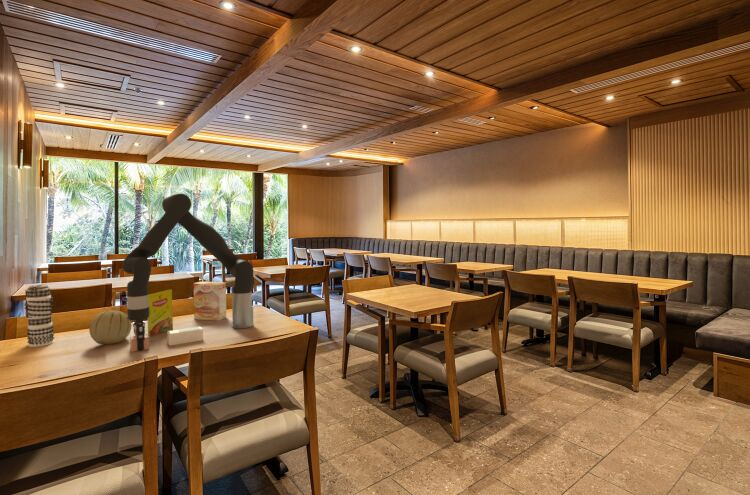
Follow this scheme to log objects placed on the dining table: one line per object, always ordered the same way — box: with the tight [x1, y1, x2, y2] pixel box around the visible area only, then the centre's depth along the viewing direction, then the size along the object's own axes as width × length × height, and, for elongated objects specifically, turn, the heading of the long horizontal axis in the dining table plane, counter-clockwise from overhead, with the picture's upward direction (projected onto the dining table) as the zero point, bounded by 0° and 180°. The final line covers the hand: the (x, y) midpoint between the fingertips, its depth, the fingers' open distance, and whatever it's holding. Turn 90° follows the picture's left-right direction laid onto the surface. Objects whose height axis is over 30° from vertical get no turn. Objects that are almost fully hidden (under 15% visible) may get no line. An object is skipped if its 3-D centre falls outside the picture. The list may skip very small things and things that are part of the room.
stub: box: [129, 333, 150, 353], centre depth 155 cm, size 6×5×5 cm
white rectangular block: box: [166, 326, 204, 346], centre depth 165 cm, size 13×5×5 cm, turn 126°
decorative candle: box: [24, 284, 55, 348], centre depth 164 cm, size 9×9×25 cm
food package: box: [147, 289, 174, 338], centre depth 177 cm, size 15×1×20 cm, turn 168°
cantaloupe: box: [88, 307, 133, 346], centre depth 164 cm, size 15×15×15 cm
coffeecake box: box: [193, 281, 227, 321], centre depth 207 cm, size 15×7×20 cm, turn 80°
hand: (139, 348), depth 155 cm, fingers closed on stub, 5 cm apart
